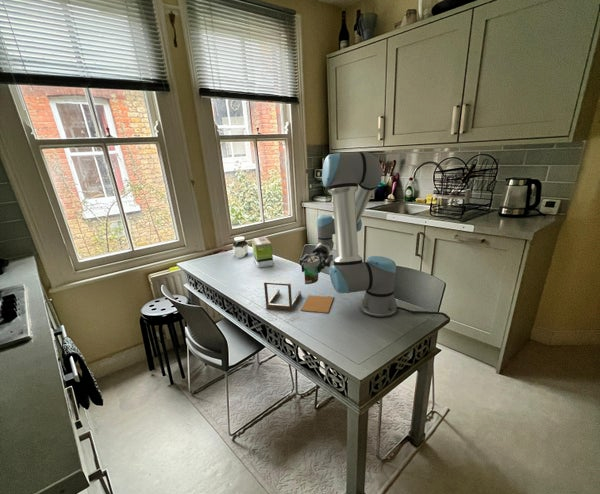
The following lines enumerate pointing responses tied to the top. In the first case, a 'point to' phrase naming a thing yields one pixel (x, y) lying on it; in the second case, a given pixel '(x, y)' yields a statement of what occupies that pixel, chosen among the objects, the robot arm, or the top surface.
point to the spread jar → (240, 247)
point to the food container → (311, 269)
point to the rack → (278, 306)
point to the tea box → (262, 252)
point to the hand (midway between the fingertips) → (310, 269)
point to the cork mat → (317, 304)
